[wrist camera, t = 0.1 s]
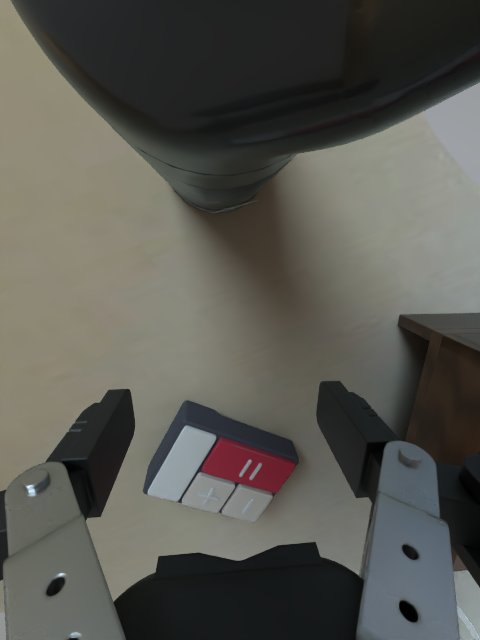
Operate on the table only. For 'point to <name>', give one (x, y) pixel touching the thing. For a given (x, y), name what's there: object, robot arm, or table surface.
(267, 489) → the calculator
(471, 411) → the shelf
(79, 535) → the robot arm
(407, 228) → the table surface
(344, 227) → the table surface
